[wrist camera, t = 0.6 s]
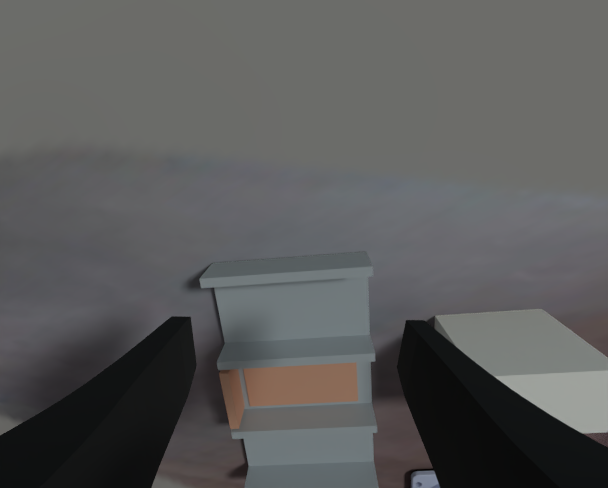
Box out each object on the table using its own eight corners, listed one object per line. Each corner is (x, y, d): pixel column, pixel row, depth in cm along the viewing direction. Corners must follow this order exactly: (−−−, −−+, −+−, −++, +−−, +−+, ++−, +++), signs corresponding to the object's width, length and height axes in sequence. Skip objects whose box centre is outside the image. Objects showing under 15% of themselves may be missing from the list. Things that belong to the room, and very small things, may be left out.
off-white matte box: (533, 358, 23) (607, 432, 17) (432, 364, 23) (471, 438, 17) (541, 308, 21) (623, 369, 16) (434, 315, 22) (477, 377, 16)
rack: (372, 460, 26) (378, 493, 24) (250, 465, 26) (244, 497, 24) (366, 251, 20) (372, 266, 18) (212, 263, 21) (199, 279, 19)
